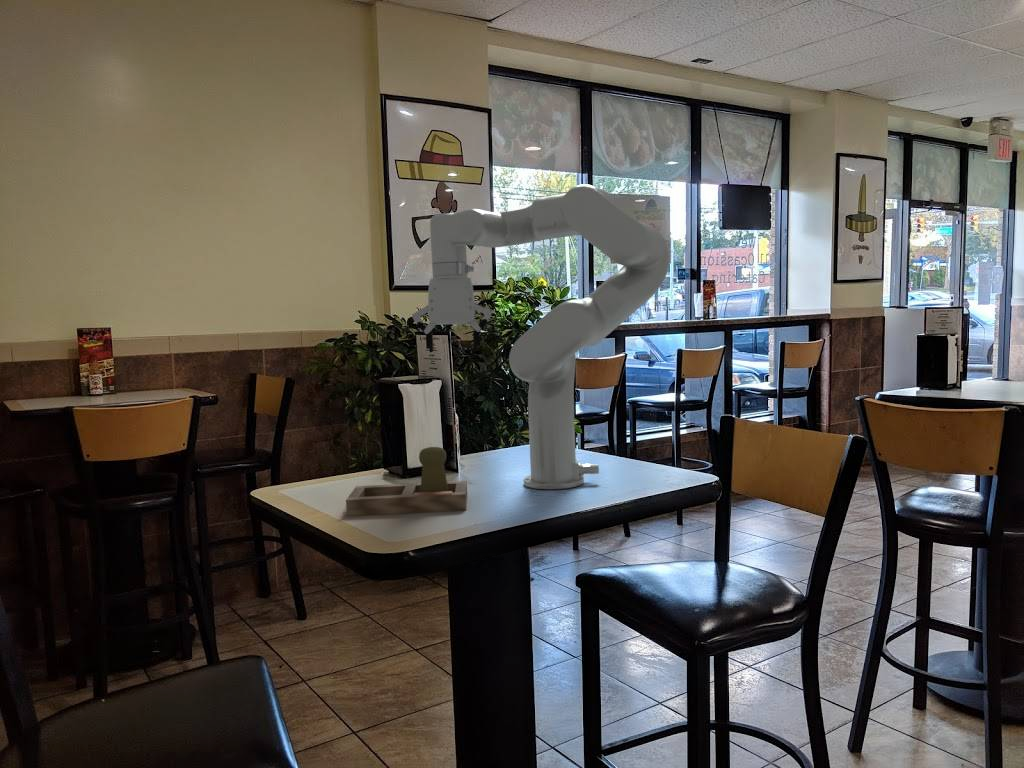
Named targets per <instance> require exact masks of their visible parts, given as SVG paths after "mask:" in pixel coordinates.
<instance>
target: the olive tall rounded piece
mask: <svg viewBox="0 0 1024 768" xmlns="http://www.w3.org/2000/svg"><path fill="white" fill-rule="evenodd" d="M418 458H419V463H420V464H421V466H422V468H421V481H420V483H421V490H420V493H422V492H442V491H449V490H448V485H447V482H448V479H447V475H446V469H445V463H446V461H447V451H446V450H445V449H444V448H443V447H439V446H430V447H429V446H428V447H426V448H422V449H421V450H420V451H419V454H418Z"/></svg>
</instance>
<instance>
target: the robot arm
mask: <svg viewBox="0 0 1024 768" xmlns="http://www.w3.org/2000/svg"><path fill="white" fill-rule="evenodd" d="M429 226H430V227H429V228H430V229H429V230H430V250H431V266H432V268H431V269H432V271H431V272H432V278H430V279H429V283H428V293H427V294H428V296H427V297H428V298H427V305H426V306H424V307H422V308H421V309H418V310H417V311H415V312H414V313H412V314H411V318H412V319H413V321H414V323H415V324H416V326H417V328H419V330H420V331H422V332H423V333H424V334H425V344H426V345H425V346H426V349H429V353H433V352H434V351H435V350H434V334H433V331H432V330H433V329H434V328H435V326H437V325H438V326H439V325H441V326H443V325H462V324H463V325H464V324H465V325H466V324H469V325H470V326H471V327H472V328H473V333H472V336H473V338H472V339H473V350H474V351H478V347H481V331H482V330H483V328H485V326H486V325H487V324H488V322H489V320H490V318H491V315H492V314H493V313H492V310H490V309H488V308H485V307H484V306H481V305H479V304H477V303H475V302H476V301H475V293H474V284H473V282H472V277H468V274H470V273H474V272H475V270H474V269H475V268H474V265H470V264H468V259H467V258H468V257H467V246H474V247H484V248H502V247H510V246H519V245H523V244H530V243H534V242H535V243H536V242H542V241H546V240H552V239H553V240H554V239H558V238H566V237H574V236H581V237H582V238H583V239H584V240H586V241H587V242H588V243H589V244H591V245H592V246H593V247H595V248H596V249H597V250H598V251H600V253H602V254H604V255H605V256H606V257H607V258H609V260H611V261H613V262H615V263H616V264H619V265H620V266H622V267H621V268H620V269H619V270H618V271H617V272H615V273H614V274H612V275H611V276H610V277H608V278H607V279H605V280H604V281H603V282H602V283H601V284H600V285H599V286H598V287H597V288H596V289H593V291H592V292H590V293H589V294H588V295H587V296H585V297H583V298H580V299H569V300H565V301H563V302H561V303H560V304H558V305H557V306H555V307H553V308H552V309H551V310H550V311H548V312H547V313H546V314H545V315H544V316H542V317H541V318H540V319H539V320H538V321H537V322H536V323H534V324H533V326H531V327H530V328H528V330H526V331H525V332H524V333H523V334H522V335H521V336H520V337H518V339H516V341H515V342H514V343H513V345H512V347H511V349H510V352H509V355H508V356H509V357H508V360H509V361H508V362H509V363H508V364H509V367H510V369H511V372H512V373H513V375H515V376H516V377H517V378H518V379H519V380H521V381H524V382H528V383H529V385H528V391H527V392H528V395H527V397H528V398H527V407H528V408H527V409H528V411H527V413H528V432H529V433H528V434H529V435H528V437H529V440H528V441H529V457H530V458H529V460H530V463H529V464H530V475H527V476H525V477H524V478H523V485H524V486H526V487H527V488H531V489H535V490H536V489H537V490H563V489H571V488H575V487H579V486H581V485H583V484H584V483H585V477H584V475H585V474H586V475H588V474H590V475H596V474H599V472H600V469H599V464H598V463H597V464H591V463H585V464H583V463H579V461H578V460H577V459H576V458H577V457H576V434H575V433H576V432H575V430H576V428H575V398H574V394H575V393H574V390H575V389H574V387H575V377H576V376H575V375H576V359H577V358H576V354H577V352H579V351H580V350H583V349H584V348H590V347H593V346H597V344H599V343H601V342H602V341H603V340H605V338H606V337H607V336H609V335H610V334H611V333H612V332H613V331H614V330H615V329H617V328H618V327H620V325H621V324H622V323H624V322H625V321H626V320H627V319H629V317H631V316H632V315H633V314H634V313H635V312H637V311H638V310H639V309H640V308H641V307H642V306H643V305H645V304H646V303H647V302H648V301H649V300H650V299H652V297H653V296H654V295H655V294H656V293H657V291H659V289H660V287H662V285H663V283H664V281H665V280H666V276H667V273H668V271H669V266H670V253H669V248H668V243H667V241H666V238H665V237H664V235H663V233H661V231H660V230H659V229H657V228H656V227H654V226H653V225H651V224H647V223H644V222H640V221H638V220H637V219H635V218H634V217H632V216H631V215H630V214H628V213H627V212H626V211H625V210H623V209H621V208H620V207H619V206H618V205H617V204H616V200H615V198H614V197H613V196H612V195H611V194H610V193H609V192H607V190H604V189H601V188H600V187H597V186H594V185H591V184H579V185H575V186H574V187H572V188H570V189H568V191H566V193H560V194H556V195H548V196H541V197H540V196H539V197H537V198H534V199H533V201H532V203H531V204H530V205H529V206H527V207H524V208H520V209H515V210H510V211H503V212H502V211H500V212H493V211H489V210H485V209H478V208H468V209H464V210H462V211H458V212H454V213H453V212H452V213H451V212H450V213H449V212H447V213H437V214H434V215H432V217H431V218H430V221H429ZM476 311H477V312H479V313H482V314H483V317H482V320H481V321H480V323H477V321H475V320H476ZM425 314H428V316H427V317H428V321H429V323H428V324H427V325H426V324H424V323H423V321H422V320H421V316H423V315H425Z"/></svg>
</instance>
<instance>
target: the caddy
mask: <svg viewBox="0 0 1024 768" xmlns="http://www.w3.org/2000/svg"><path fill="white" fill-rule="evenodd" d="M447 485H448V490H449V491H442V492H422V493H420V490H421V482H416V483H415V482H413V483H412V482H411V483H395V484H394V483H393V484H375V485H374V484H373V485H356V486H355V487H354V489H353V490H352V491H351V493H350V494H349V495H348V497H347V498H346V499H345V508H346V516H347V517H354V516H355V517H357V516H358V517H359V516H375V515H391V514H392V515H395V514H397V515H398V514H413V513H414V514H416V513H432V512H433V513H434V512H435V513H436V512H452V511H455V512H456V511H467V504H468V482H467V480H457V481H456V480H455V481H454V480H453V481H447Z"/></svg>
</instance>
